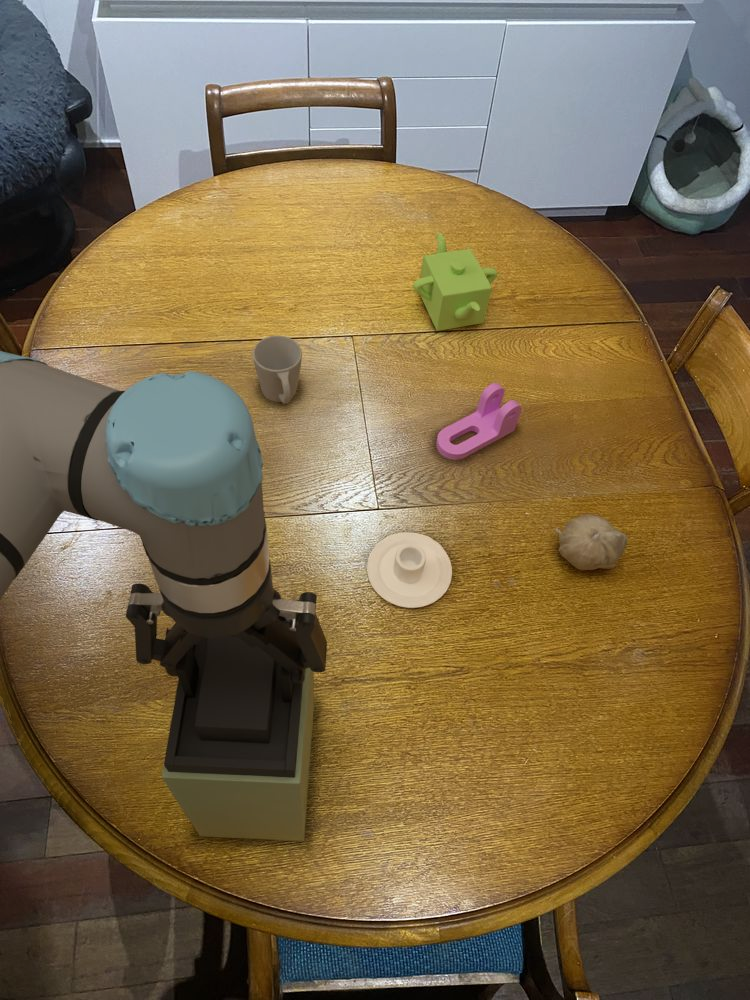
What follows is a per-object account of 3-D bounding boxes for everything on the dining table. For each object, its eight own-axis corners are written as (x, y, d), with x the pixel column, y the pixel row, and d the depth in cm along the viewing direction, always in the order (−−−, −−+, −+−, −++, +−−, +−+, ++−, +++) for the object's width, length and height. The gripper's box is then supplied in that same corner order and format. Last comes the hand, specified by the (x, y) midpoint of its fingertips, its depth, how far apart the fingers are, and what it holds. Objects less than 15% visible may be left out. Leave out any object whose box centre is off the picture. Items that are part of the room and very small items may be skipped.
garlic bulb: (607, 566, 116) (653, 541, 108) (575, 596, 112) (621, 573, 103) (566, 515, 117) (609, 487, 109) (534, 543, 112) (575, 516, 104)
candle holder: (439, 529, 115) (443, 513, 111) (461, 602, 109) (466, 587, 105) (359, 541, 113) (360, 526, 109) (376, 616, 107) (379, 602, 103)
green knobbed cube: (431, 273, 145) (438, 225, 137) (498, 297, 143) (511, 250, 134) (398, 325, 138) (404, 277, 129) (469, 351, 135) (480, 305, 126)
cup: (296, 368, 131) (295, 331, 123) (311, 413, 125) (311, 377, 118) (251, 376, 129) (247, 339, 122) (265, 422, 124) (262, 387, 117)
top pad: (269, 743, 69) (266, 730, 65) (200, 740, 68) (194, 726, 65) (280, 637, 74) (278, 619, 71) (216, 634, 74) (211, 616, 71)
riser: (199, 836, 90) (161, 777, 68) (219, 700, 99) (190, 608, 77) (304, 841, 91) (300, 783, 68) (314, 705, 100) (313, 615, 77)
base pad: (168, 771, 68) (163, 764, 66) (194, 613, 76) (191, 603, 74) (295, 777, 68) (294, 770, 66) (308, 619, 77) (307, 609, 75)
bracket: (492, 407, 129) (501, 379, 123) (514, 430, 126) (523, 402, 120) (429, 440, 124) (434, 412, 118) (450, 465, 122) (457, 437, 116)
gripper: (371, 525, 54) (357, 651, 73) (68, 508, 54) (133, 640, 73) (367, 625, 50) (353, 731, 69) (39, 607, 50) (116, 720, 69)
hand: (240, 684), depth 71 cm, fingers open, 8 cm apart
